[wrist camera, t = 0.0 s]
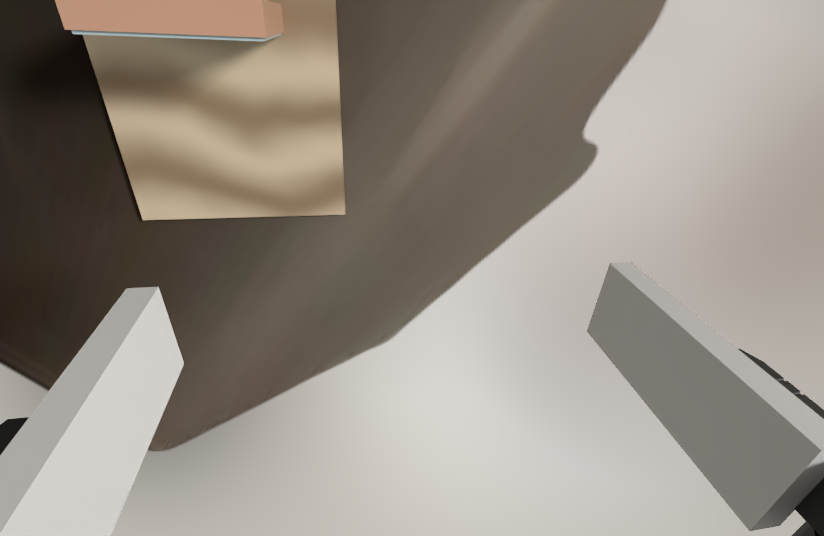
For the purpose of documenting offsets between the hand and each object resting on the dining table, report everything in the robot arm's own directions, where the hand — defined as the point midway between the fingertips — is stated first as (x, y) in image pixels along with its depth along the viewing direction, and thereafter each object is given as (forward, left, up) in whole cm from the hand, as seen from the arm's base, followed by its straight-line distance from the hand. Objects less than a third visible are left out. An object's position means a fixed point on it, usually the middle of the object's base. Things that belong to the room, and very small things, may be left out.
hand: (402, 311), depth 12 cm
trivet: (-1, -10, -28) cm, 30 cm away
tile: (-7, -10, -27) cm, 30 cm away
